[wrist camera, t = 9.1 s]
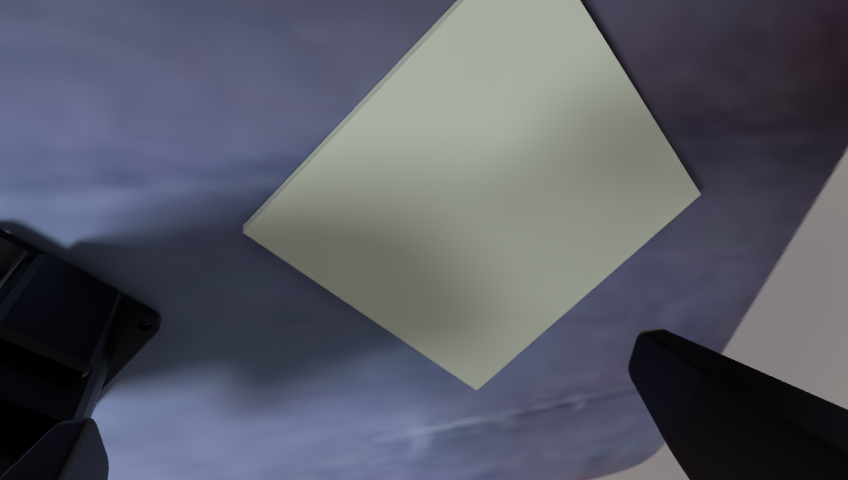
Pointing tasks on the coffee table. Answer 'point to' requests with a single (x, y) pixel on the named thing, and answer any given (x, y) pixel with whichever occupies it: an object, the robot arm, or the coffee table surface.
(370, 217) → the sage mat
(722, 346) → the coffee table surface
